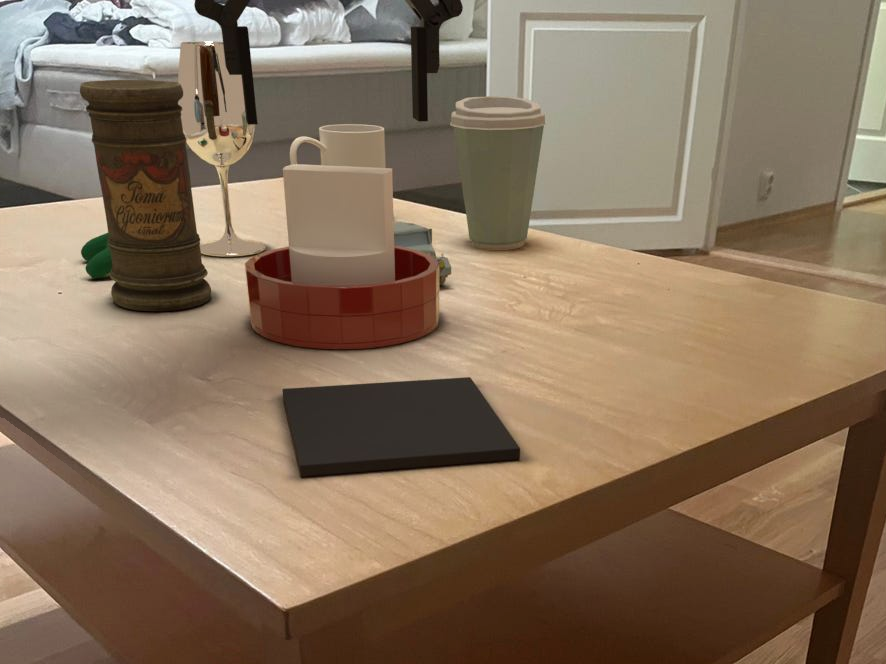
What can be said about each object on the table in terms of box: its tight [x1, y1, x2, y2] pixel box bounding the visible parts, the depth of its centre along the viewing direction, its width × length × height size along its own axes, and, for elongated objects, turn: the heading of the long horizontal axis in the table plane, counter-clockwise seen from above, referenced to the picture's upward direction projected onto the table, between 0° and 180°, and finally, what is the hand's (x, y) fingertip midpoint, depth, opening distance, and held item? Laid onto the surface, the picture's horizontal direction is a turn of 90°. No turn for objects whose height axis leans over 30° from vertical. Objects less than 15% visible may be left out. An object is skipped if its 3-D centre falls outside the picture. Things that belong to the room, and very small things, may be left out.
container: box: [79, 79, 212, 312], centre depth 90 cm, size 9×9×18 cm
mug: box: [289, 123, 386, 168], centre depth 124 cm, size 12×8×10 cm, turn 123°
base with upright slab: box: [282, 163, 395, 286], centre depth 86 cm, size 9×9×12 cm
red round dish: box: [244, 245, 441, 350], centre depth 88 cm, size 17×17×5 cm
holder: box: [281, 376, 521, 477], centre depth 68 cm, size 14×14×1 cm
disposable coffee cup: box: [449, 95, 547, 251], centre depth 113 cm, size 11×11×15 cm
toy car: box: [394, 221, 452, 286], centre depth 102 cm, size 6×10×5 cm, turn 35°
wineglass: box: [177, 41, 266, 258], centre depth 107 cm, size 8×8×20 cm
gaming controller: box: [80, 232, 113, 280], centre depth 103 cm, size 9×4×6 cm
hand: (337, 121), depth 81 cm, fingers open, 13 cm apart
